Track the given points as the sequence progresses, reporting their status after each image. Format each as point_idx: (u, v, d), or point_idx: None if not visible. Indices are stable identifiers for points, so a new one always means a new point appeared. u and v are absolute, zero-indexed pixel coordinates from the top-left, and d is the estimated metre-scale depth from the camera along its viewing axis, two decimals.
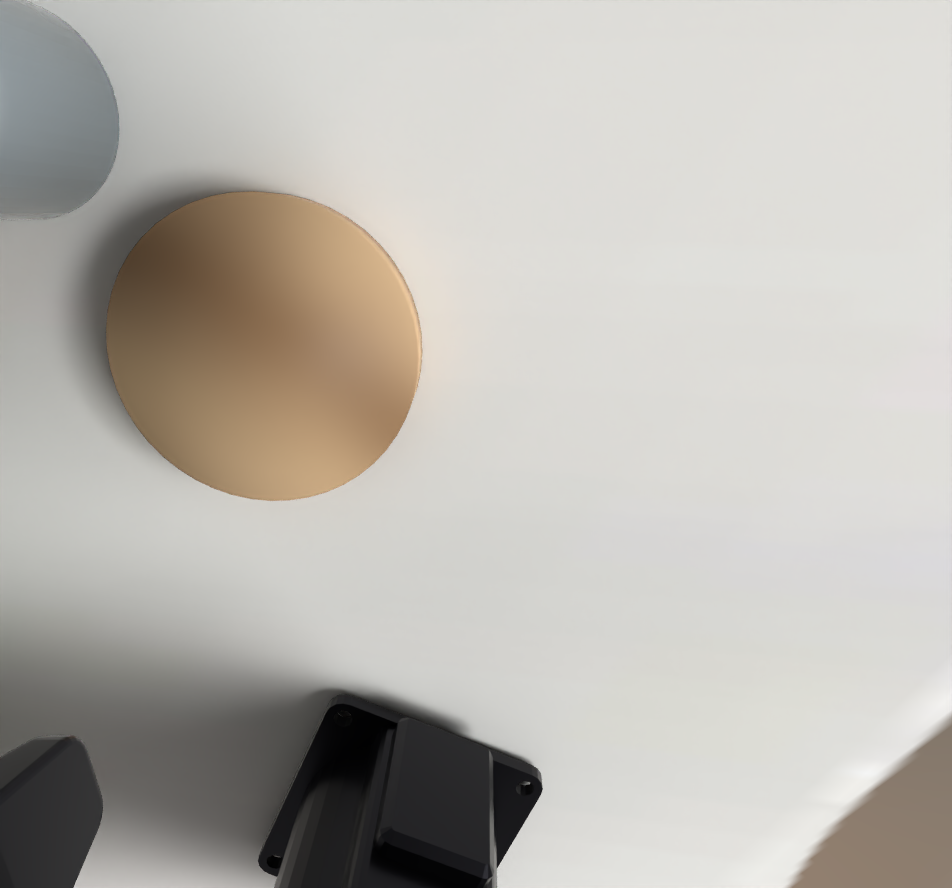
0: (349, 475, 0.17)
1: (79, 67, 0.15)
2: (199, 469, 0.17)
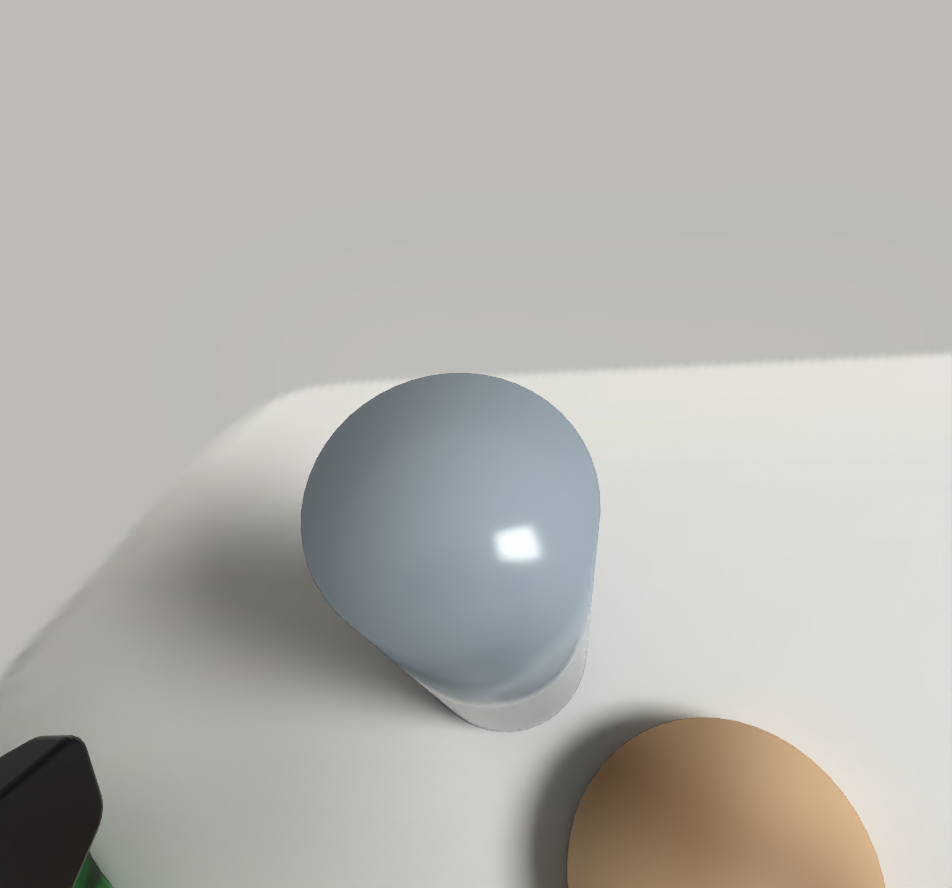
0: None
1: None
2: None
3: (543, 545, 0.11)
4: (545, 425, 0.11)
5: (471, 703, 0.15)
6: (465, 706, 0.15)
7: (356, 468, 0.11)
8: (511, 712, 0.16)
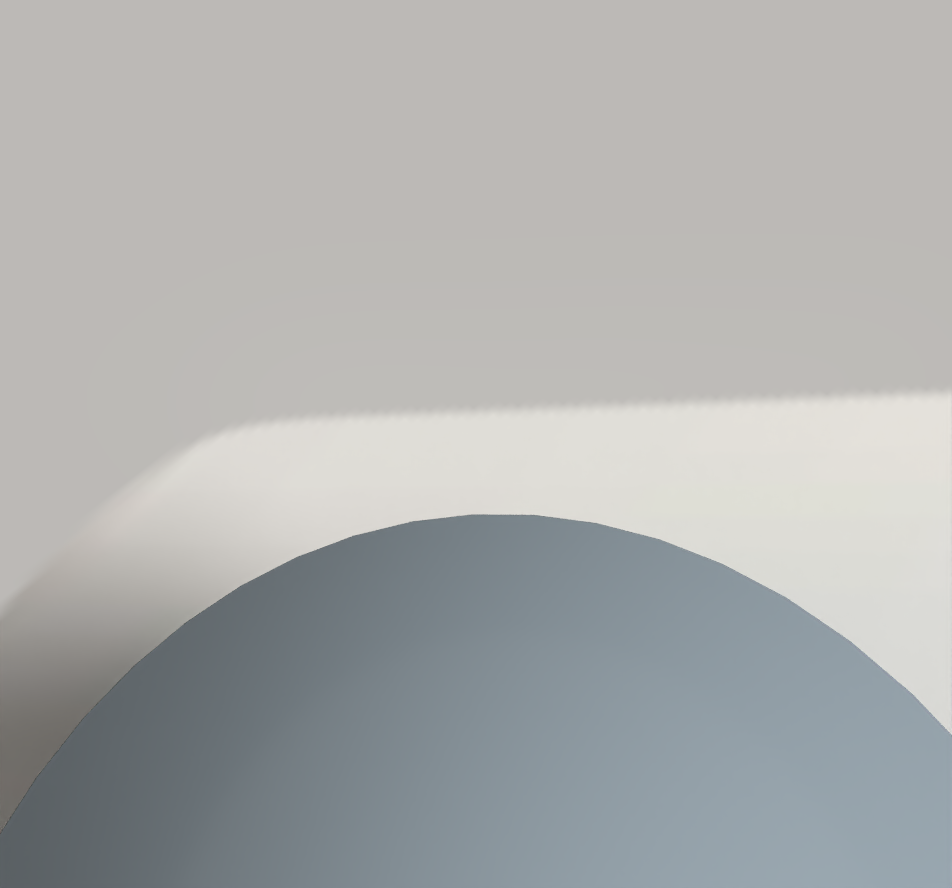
0: None
1: None
2: None
3: None
4: (859, 749, 0.03)
5: None
6: None
7: None
8: None
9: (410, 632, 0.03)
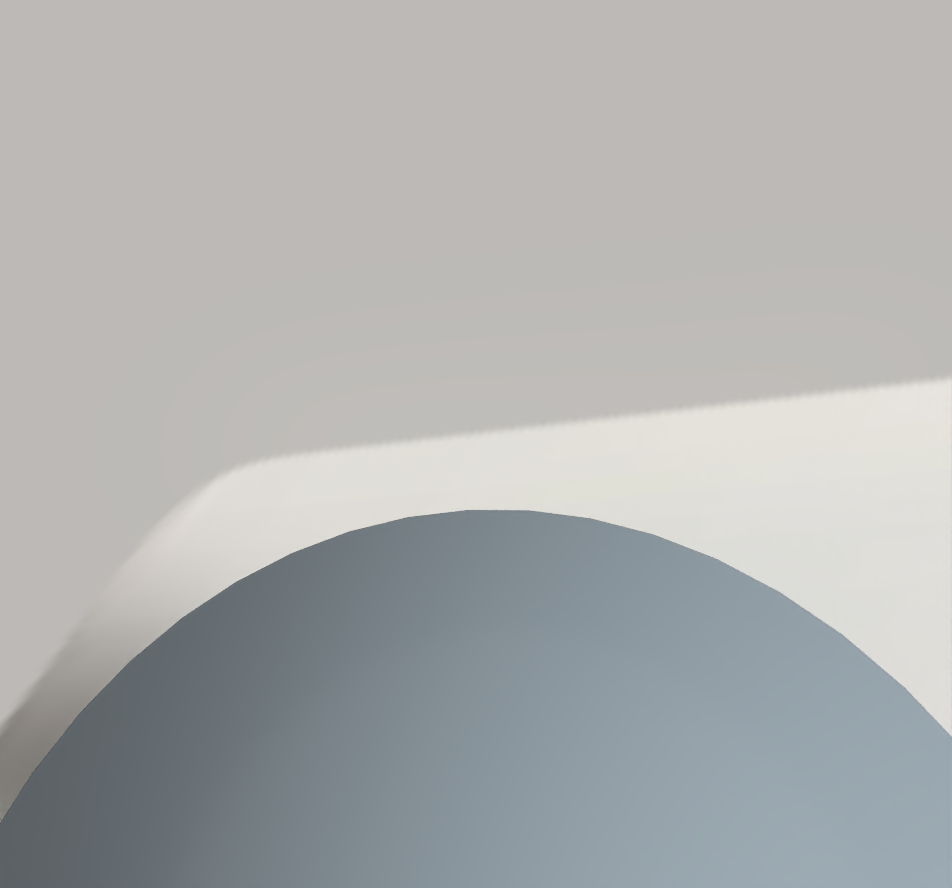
0: None
1: None
2: None
3: None
4: (851, 742, 0.03)
5: None
6: None
7: None
8: None
9: (405, 627, 0.03)
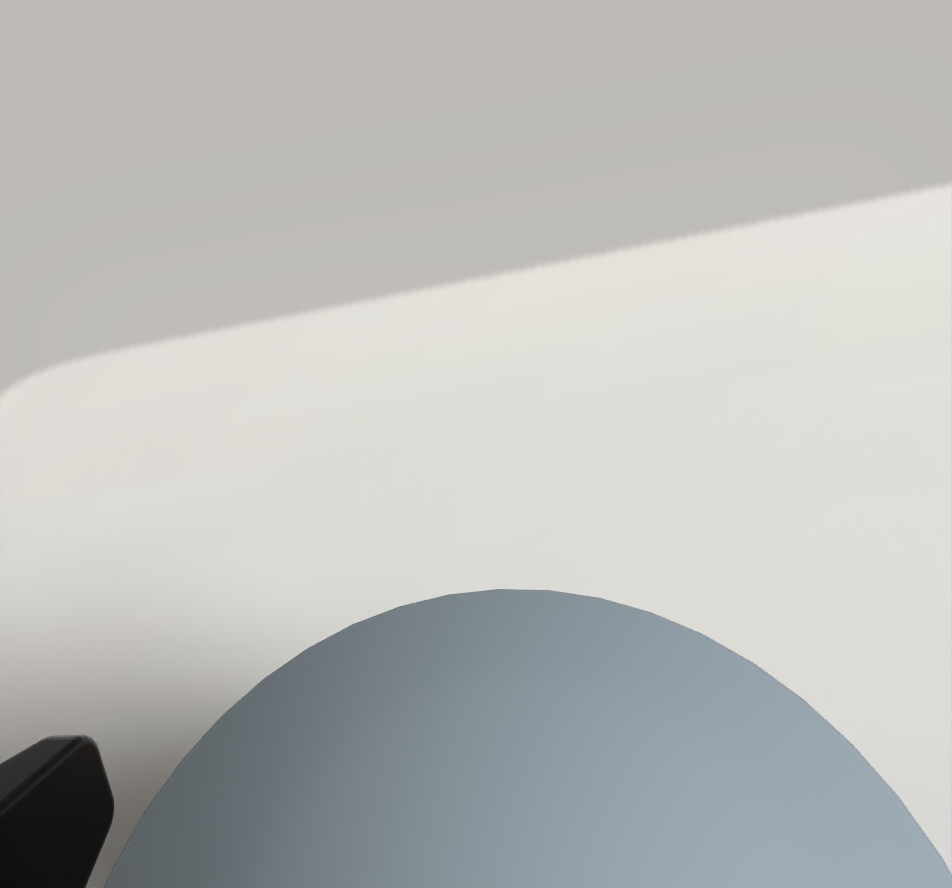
0: None
1: None
2: None
3: None
4: (808, 788, 0.04)
5: None
6: None
7: None
8: None
9: (448, 689, 0.04)
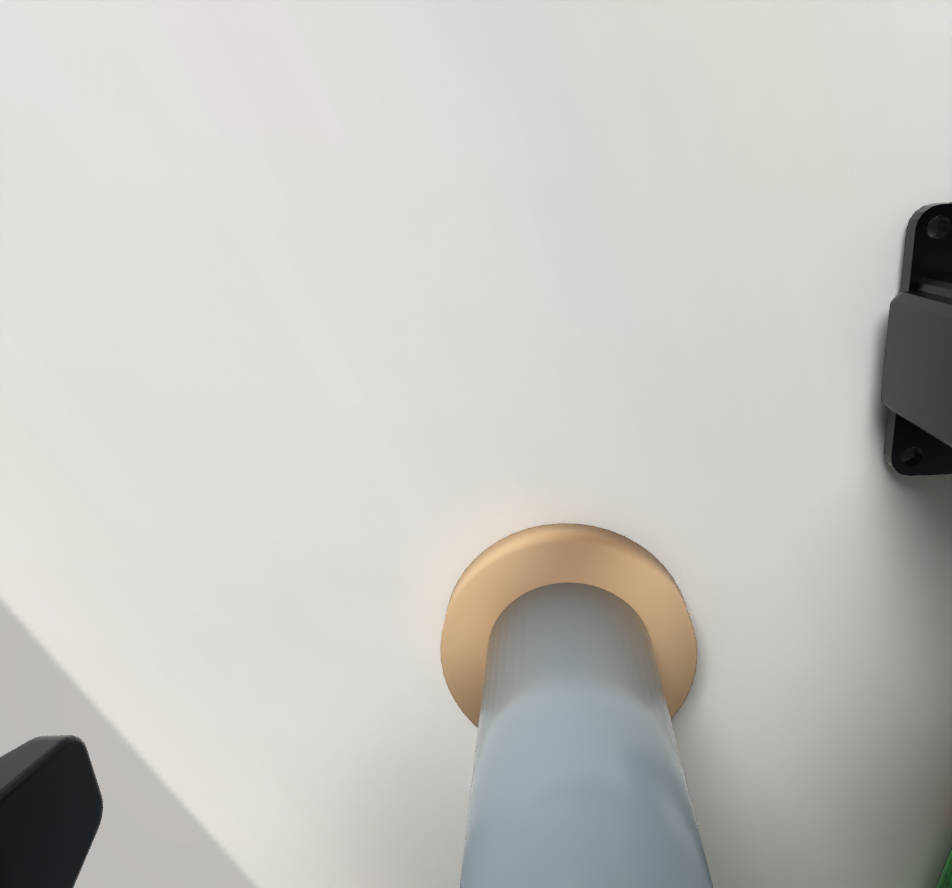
0: (634, 563, 0.19)
1: (520, 618, 0.19)
2: (684, 670, 0.20)
3: None
4: None
5: None
6: None
7: None
8: (666, 720, 0.16)
9: None
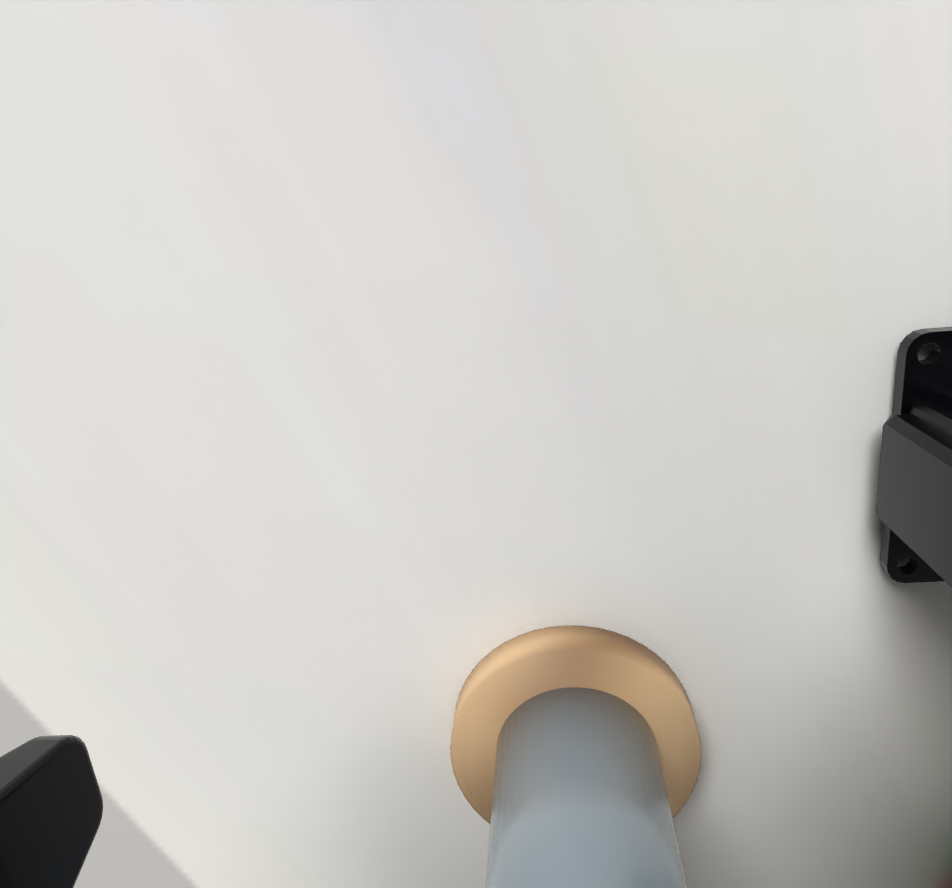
0: (638, 669, 0.20)
1: (527, 728, 0.19)
2: (689, 768, 0.21)
3: None
4: None
5: None
6: None
7: None
8: (671, 844, 0.16)
9: None
